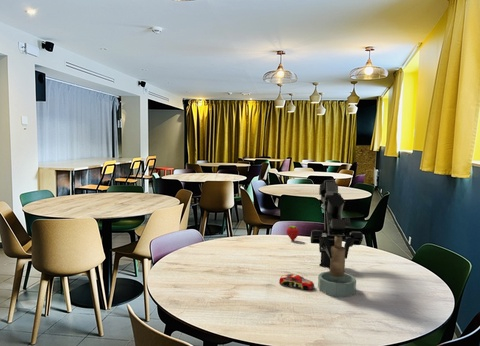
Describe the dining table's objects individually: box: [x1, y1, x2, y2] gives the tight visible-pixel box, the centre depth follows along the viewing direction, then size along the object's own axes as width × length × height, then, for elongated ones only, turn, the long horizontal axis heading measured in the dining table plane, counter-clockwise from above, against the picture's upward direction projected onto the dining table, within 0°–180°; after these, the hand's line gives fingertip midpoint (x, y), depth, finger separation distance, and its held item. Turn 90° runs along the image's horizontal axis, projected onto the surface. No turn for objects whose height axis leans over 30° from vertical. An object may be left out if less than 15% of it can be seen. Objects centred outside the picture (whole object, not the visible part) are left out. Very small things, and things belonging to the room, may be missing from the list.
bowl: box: [317, 270, 357, 298], centre depth 132 cm, size 13×13×4 cm
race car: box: [278, 273, 315, 291], centre depth 135 cm, size 13×5×4 cm, turn 62°
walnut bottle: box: [329, 236, 346, 277], centre depth 132 cm, size 5×5×14 cm
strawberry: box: [286, 225, 300, 242], centre depth 200 cm, size 6×8×10 cm
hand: (338, 258), depth 130 cm, fingers closed on walnut bottle, 5 cm apart
